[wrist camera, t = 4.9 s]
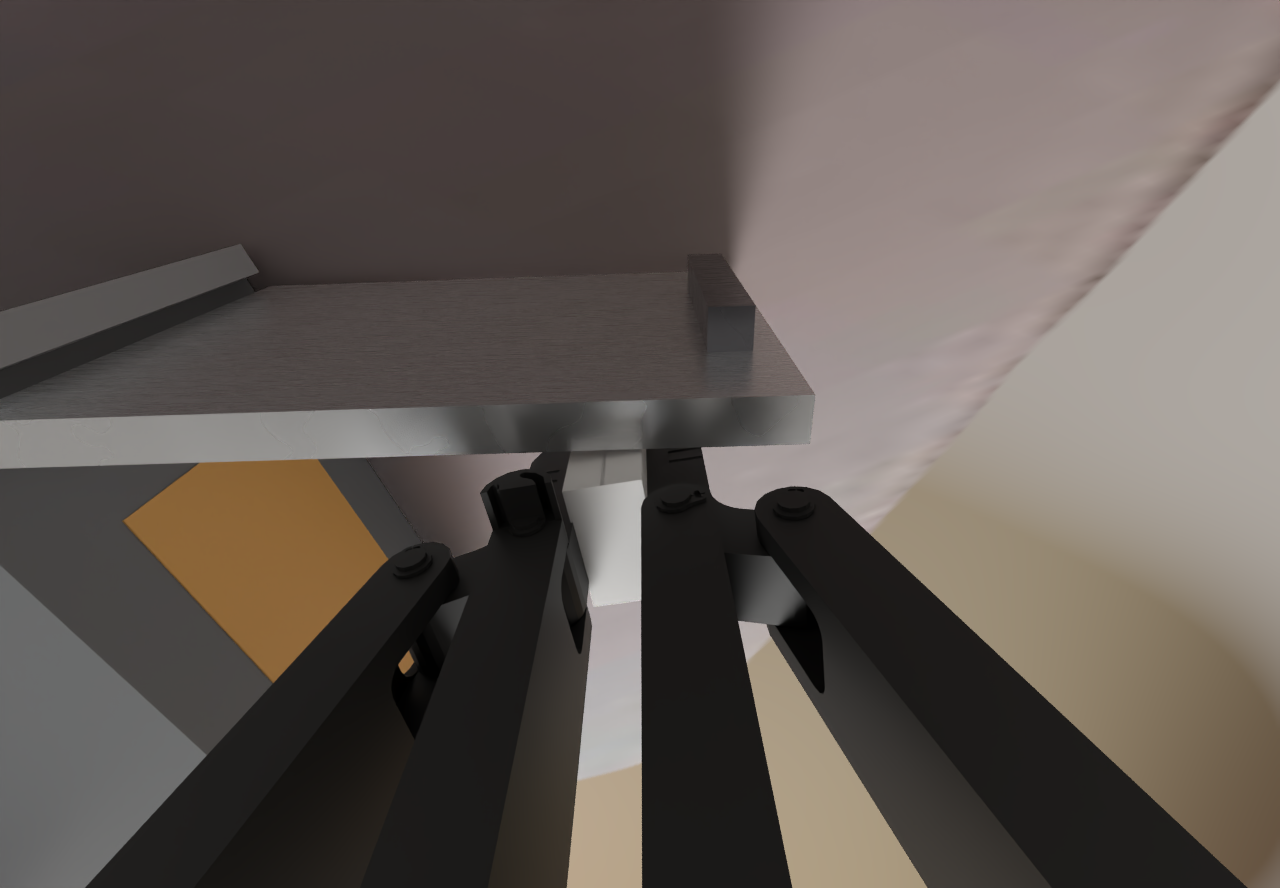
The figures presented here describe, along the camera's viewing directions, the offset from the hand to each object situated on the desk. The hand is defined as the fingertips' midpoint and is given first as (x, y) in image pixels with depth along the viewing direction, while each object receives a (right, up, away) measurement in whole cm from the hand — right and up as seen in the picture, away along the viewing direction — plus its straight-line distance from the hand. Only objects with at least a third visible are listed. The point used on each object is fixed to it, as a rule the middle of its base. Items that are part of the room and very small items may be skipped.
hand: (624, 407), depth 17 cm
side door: (-4, +5, +4) cm, 7 cm away
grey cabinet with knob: (-16, -5, +10) cm, 19 cm away
